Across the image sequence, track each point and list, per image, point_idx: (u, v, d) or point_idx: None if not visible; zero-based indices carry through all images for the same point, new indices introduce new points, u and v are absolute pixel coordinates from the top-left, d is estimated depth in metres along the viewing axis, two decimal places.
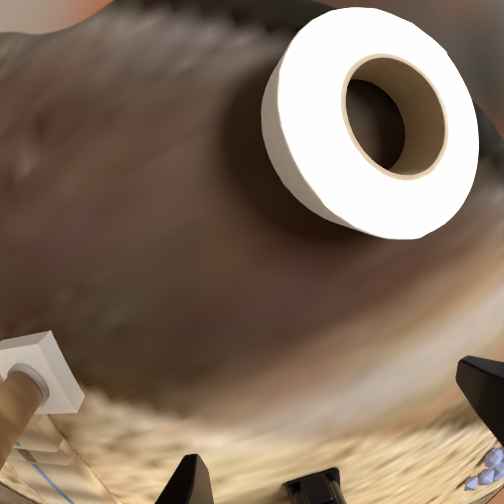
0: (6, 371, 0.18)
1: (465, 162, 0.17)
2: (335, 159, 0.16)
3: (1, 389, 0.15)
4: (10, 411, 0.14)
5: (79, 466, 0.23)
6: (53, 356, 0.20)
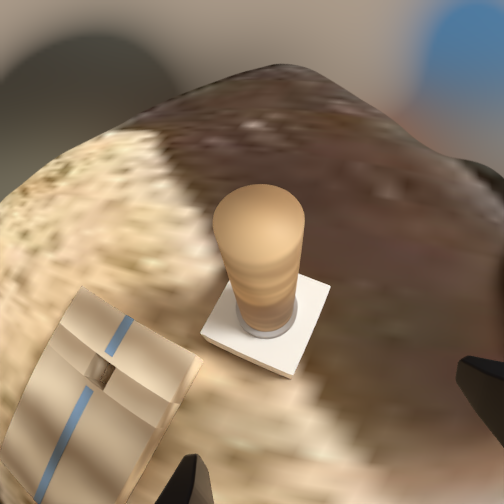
0: None
1: None
2: None
3: None
4: None
5: (152, 446, 0.18)
6: None
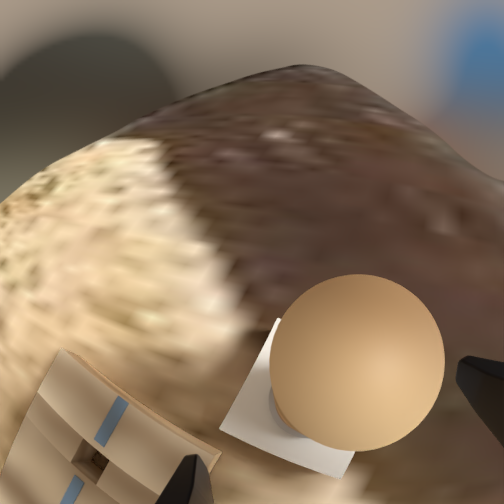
0: None
1: None
2: None
3: None
4: None
5: None
6: None
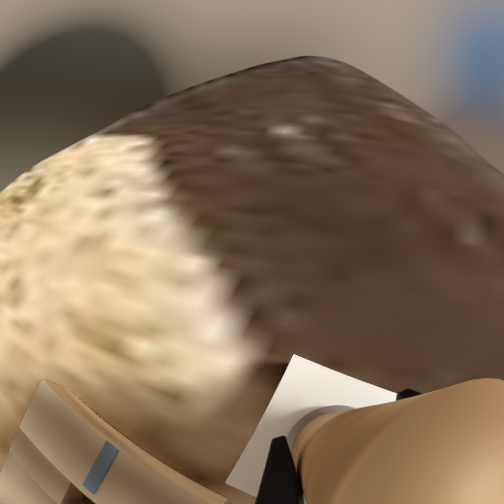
0: (297, 404, 0.12)
1: None
2: None
3: None
4: None
5: None
6: None
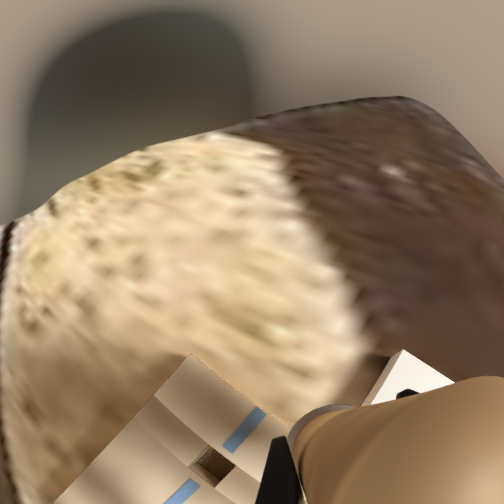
0: (401, 384, 0.17)
1: None
2: None
3: None
4: None
5: None
6: None
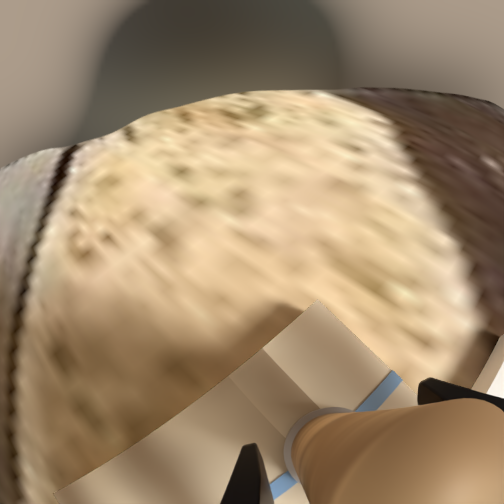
0: None
1: None
2: None
3: None
4: None
5: None
6: None
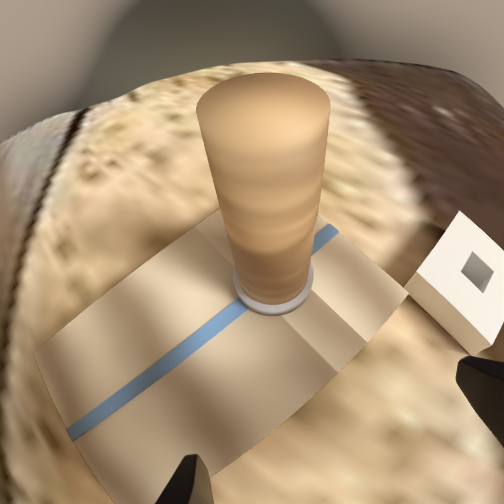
0: (461, 237, 0.17)
1: None
2: None
3: None
4: None
5: None
6: None
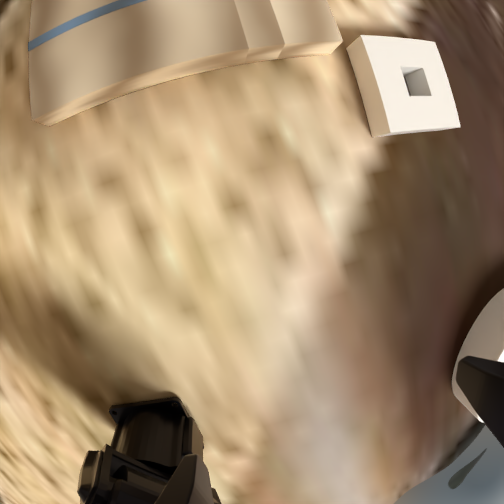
0: (420, 52, 0.16)
1: None
2: None
3: None
4: None
5: (218, 62, 0.16)
6: (435, 129, 0.18)
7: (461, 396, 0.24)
